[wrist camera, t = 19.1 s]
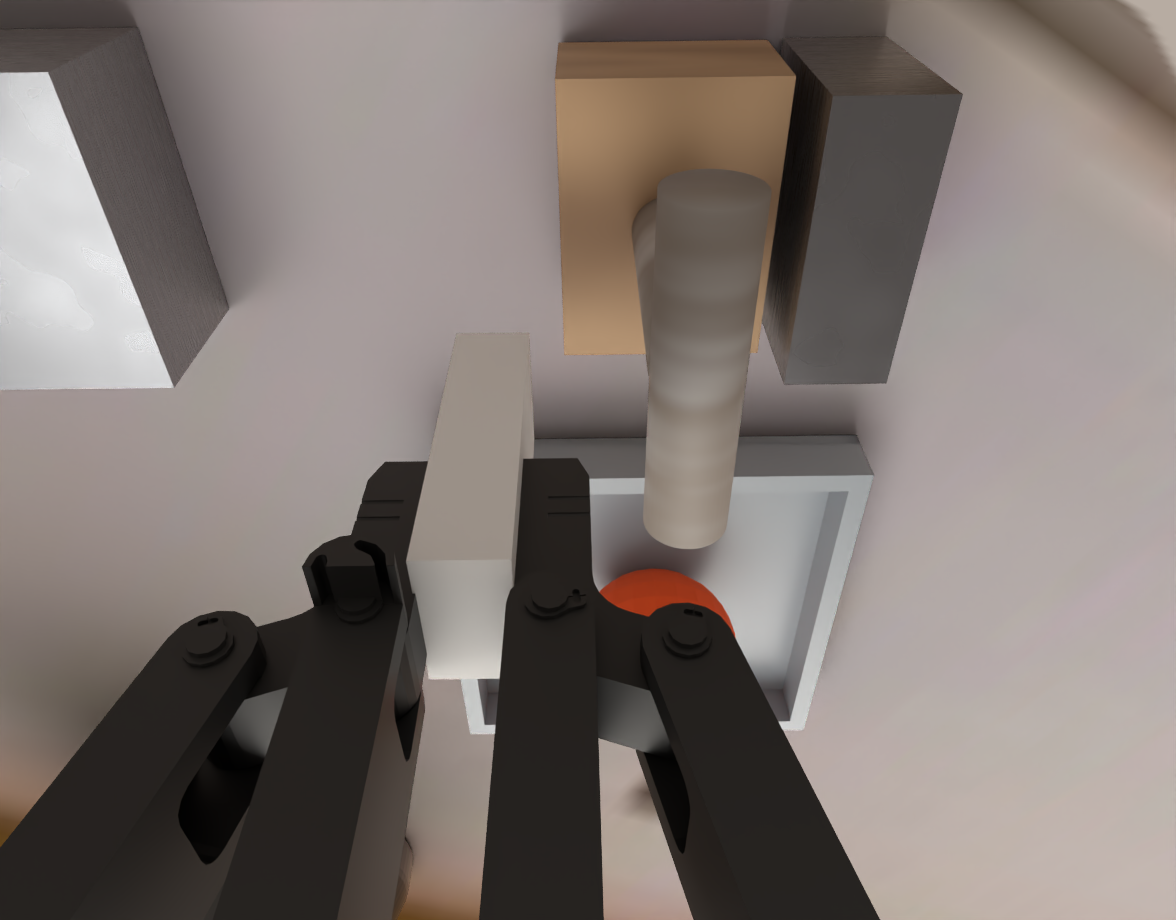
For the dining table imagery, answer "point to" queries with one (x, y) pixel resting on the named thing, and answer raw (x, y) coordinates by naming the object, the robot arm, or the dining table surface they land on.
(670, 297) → the slider
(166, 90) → the dining table surface
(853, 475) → the tray
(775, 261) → the frame
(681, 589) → the clementine
